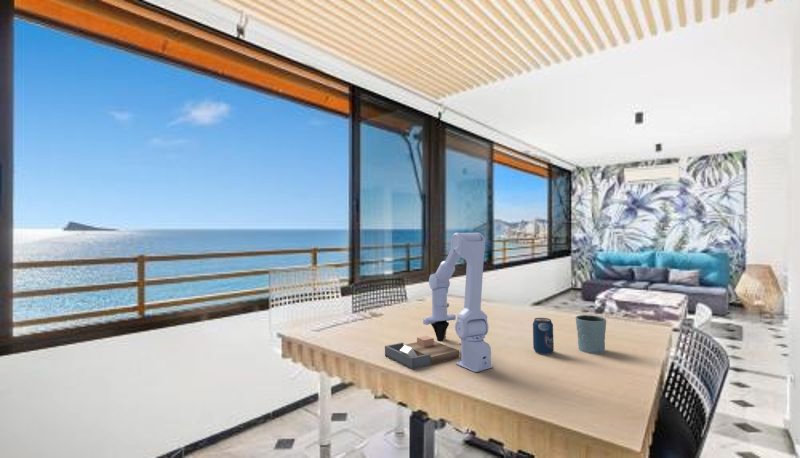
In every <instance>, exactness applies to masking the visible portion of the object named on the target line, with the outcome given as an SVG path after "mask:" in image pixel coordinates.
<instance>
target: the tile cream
mask: <svg viewBox="0 0 800 458" xmlns="http://www.w3.org/2000/svg"><path fill="white" fill-rule="evenodd" d="M400 352H402V353H404V354H406V355H408V356H410V357H417V355H416V353H415V352H414V350H413V349H412V348H411V347H408V346H406V344H404V346H403V347H402V348H401V349H400Z"/></svg>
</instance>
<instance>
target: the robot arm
mask: <svg viewBox="0 0 800 458" xmlns="http://www.w3.org/2000/svg"><path fill="white" fill-rule="evenodd" d="M485 249H486V239H485V237H484V236H483V234H482V233H480V232H455V233H453V234H452V236H451V239H450V250H449V252H448V255H447V257H446V259H445V260H443V261H441V262H440V263H439V266H438V268H437V269H436V271H435V273H433V274H430V275H429V278H428V284H429V288H430V289H431V295H432V296H431V302H432V303H431V308H432V309H431V310H432V314H431V316H429V317H427V318H423V319H422V320H423V322H422V323H423V325H425V326H428V325H431V326H432V329H433V331H434V334H435V336H436V342H439V343H440V342H441V343H442V342H444V340H443V339H444V335H445V332H446V333H447V329H448V328H449V325H450V322H449V321H452V320H453V321H455V324H454V329H455V330H454V331H455V333H456V335H457V336H458V338H459V339H460V348H461V349H460V350H461V351H460V352H461V353H460V355H461V356H460V359H461V360H460V361H457V362H455V364H456V365H457V366H460V367H463V368H465V369H467V370H470V371H472V372H474V373H478V372H481V371H485V370H487V369H488V370H489V369H491V368H493V367H494V366H493V365H492V352H491V351H492V348H491V346H490V344H489V342H486V341H485V340H484V339H485V338H486V336H487V334H488V333H489V323H488V322H489V321H488V315H487V314H486V312H484V311H482V309H481V307H482V293H483V292H482V290H483V279H484V277H483V276H484V261H485V259H484V257H485V252H486V251H485ZM460 258H462V259H463V260H465V262H466V269H465V271H466V273H465V288H464V289H465V290H464V291H465V292H464V305H463V306H464V307H463V309H462V310H461V311H459V312H458V314H457V316H456V314H453V313H451V314H448V308H447V303H448V294H449V288H450V285H451V282H450V279H451V278H452V276H453V274H454V273H455V271H456V266H455V265H456V264H457V262H458V261H459V259H460ZM456 317H457V319H456ZM445 336H446V335H445Z"/></svg>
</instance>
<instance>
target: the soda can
mask: <svg viewBox="0 0 800 458" xmlns="http://www.w3.org/2000/svg"><path fill="white" fill-rule="evenodd" d="M532 322H533V323H532V338H533V339H532V343H533V344H532V345H533V347H532V348H533V350H534V351H535V353H537V354H539V355H545V356H546V355H547V356H548V355H552V354H553V352H554V349H555V348H554V346H555V345H554V324H553V322H552V319H550V318H548V317H547V318H546V317H536V318H535V317H534V321H532Z"/></svg>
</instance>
